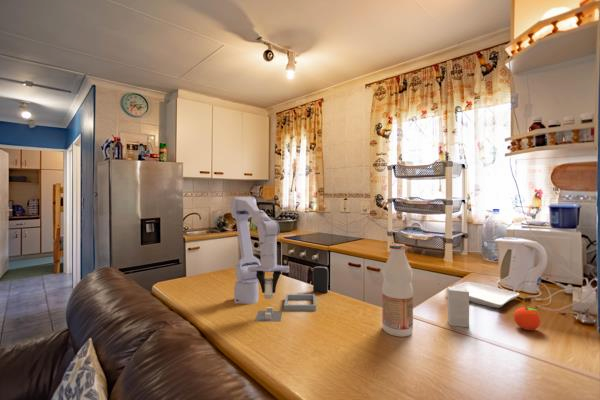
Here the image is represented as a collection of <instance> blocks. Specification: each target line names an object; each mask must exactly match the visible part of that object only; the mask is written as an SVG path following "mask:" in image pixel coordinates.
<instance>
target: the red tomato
mask: <svg viewBox="0 0 600 400" xmlns="http://www.w3.org/2000/svg"><path fill="white" fill-rule="evenodd" d="M539 311H540V310H539ZM539 311H538V310H537V309H534V308H531V307H524V306H523V307H519V308H517V309H516V310H515V311H514V313H513V320H514V321H515V323H516V325H517V326H518V327H520V328H521V329H524V330H527V331H534V330H537V329H538V328H539V327H540V325H541V317H540V316H539V314H538V312H539ZM539 313H540V312H539ZM540 314H541V316H542V317H543V314H542V313H540Z"/></svg>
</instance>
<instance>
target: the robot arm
mask: <svg viewBox="0 0 600 400" xmlns="http://www.w3.org/2000/svg"><path fill="white" fill-rule="evenodd" d="M229 206H230V214H231V218H233V219H235V223H236V230H237V237H238V243H239V250H240V251H239V252H240V259H239V260H238V261H237V262H236V263H235V276H236V281H235V283H234V287H233V288H234V294H233V296H234V298H233V299H234V304H244V305H250V304H256V303H258V302H259V285H260V289H261V293H262V294H264V279H266V278H265V277H266V275H265V274H266V273H272V278H273V293H274V294H276V289H277V284H278V281H279V278H280V276H281V274H282V273H288V274H289V273H290V266H289V265H280V264H277V263H278V260H277V256H278V255H277V251H278V249H277V248H278V247H277V237H278V235H280V231H281V229H280V224H279V222H278V220H276V219H271V218H270V216H268V215H267V214H266V212H265V211H264V210H262V209H259V207H258V205H257V199H256V197H255V196H232V197H231V199H230V205H229ZM250 218H251V222H252V223H253V224H254V226H256V228H257V234H258V242H260V259H259V258H257V257H256V256H255V255H254V253H253V245H252V239H251V233H250V227H249V222H248V221H249V219H250Z"/></svg>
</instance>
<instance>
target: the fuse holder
mask: <svg viewBox="0 0 600 400" xmlns="http://www.w3.org/2000/svg"><path fill="white" fill-rule="evenodd" d="M282 315H283V310H274V307H273V306H266V310H258V311H257V314H256V316H255V319H254V322H281V320H282Z"/></svg>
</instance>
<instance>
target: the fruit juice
mask: <svg viewBox="0 0 600 400" xmlns="http://www.w3.org/2000/svg"><path fill="white" fill-rule="evenodd" d="M406 248H407V246H406V244H405V243H390V244H389V250H390V252H389V255H388V258H387V260H386V262H385V265H384V266H383V269H382V274H383V279H384V280H383V283H382V292H381V293H382V295H381V297H382V299H381V300H382V303H381V304H382V309H381V310H382V322H381V324H382V326H381V327H382V329H383V331H384V332H385V333H386V334H388V335H391V336H395V337H409V336H411V335H412V333H413V331H414V330H413V329H414V288H413V284H412V280H413V279H412V278H413V276H414V275H413V273H414V272H413V269H412V267H411V265H410V263H409V260H408V259H407V258H408V257H407V255H406V253H405V252H406Z"/></svg>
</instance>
